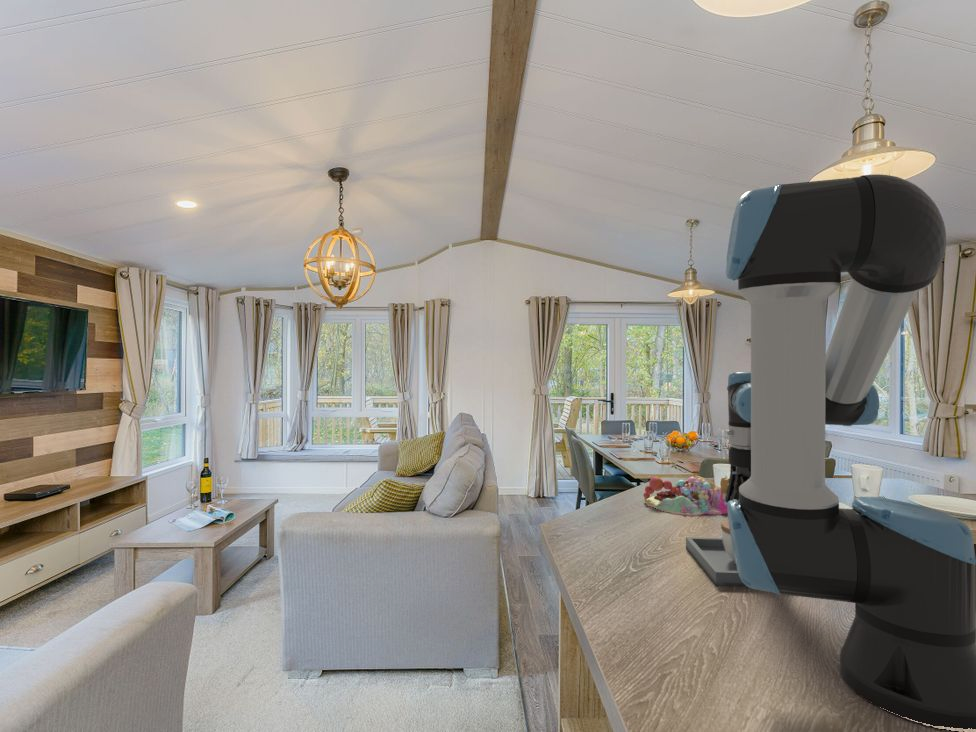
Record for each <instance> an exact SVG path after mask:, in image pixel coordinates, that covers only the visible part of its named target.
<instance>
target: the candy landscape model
mask: <svg viewBox="0 0 976 732" xmlns="http://www.w3.org/2000/svg"><path fill="white" fill-rule="evenodd" d="M729 478H730V477H729ZM729 478H728V477H721V479H720V481H719V483H720V487H719V486H717V485H716V484H715V483H714V482H712V481H710V480H707V479H706V478H704V477H702V476H701V475H692V476H690V477H688V478H687V479H686V480H684V479H679V480H677V482H675V483H674V486H673V484H672V482H671V481H670V480H667V479H666V480H663V479H662V478H660V477H659V476H653V477H651V478H650V480H649V482H648V483H649V485H646V486H645V488H644V492H643V500H644V502H645V503H646V504H647V505H646V504H645V503H644V504H645V505H646V506H648V507H649V506H651V507H654V508H653V509H655V508H656V509H659V510H658V511H660V510H661V512H663V511H664V512H663V513H668V512H669V514H672V515H679V516H686V517H687V516H688V517H698V516H699V517H700V516H702V515H714V516H715V515H718V516H721V515H728V513H727V511H728V510H727V503H726V501H725V499H726V494H727V489H728V483H729ZM663 488H664V489H665V491H664V490H662V489H663ZM658 491H659V492H658ZM655 492H656V495H653V494H654V493H655ZM651 495H653V496H651ZM651 507H650V508H651ZM656 509H655V510H656Z"/></svg>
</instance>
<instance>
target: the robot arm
mask: <svg viewBox="0 0 976 732" xmlns="http://www.w3.org/2000/svg"><path fill="white" fill-rule="evenodd" d="M736 203H737V204H736V206H735V209H734V213H733V218H732V223H731V228H730V233H729V238H728V245H727V253H726V266H725V267H726V269H725V276H726V278H727V279H728V280H731V281H736V280H737V281H738V282H737V283H738V286H737V287H738V294H739V295H740V296H741V297H743V298H744V299H745V300H746V301H747V302H748V303H749V304H750V371H749V372H748V371H747V372H746V371H745V372H744V371H736V372H733V371H732V372H731V373H730V374H729V375H728V377H727V379H728V380H727V386H726V390H727V403H728V404H727V405H728V406H727V407H728V430H726V432H725V433H726V436H728V444H730V445H731V446H729V448H728V463H729V465H730V469H729V470H730V474H729V483H728V489H727V494H726V499H725V501H726V503H727V510H728V511H727V520H728V521H729V528H730V535H731V541H732V546H733V552H734V557H735V562H736V566H737V570H738V574H739V577H740V579H741V581H742V582H743V583H744V584H745V585H746V586H748V587H747V588H750V589H752V590H756V591H762V592H768V593H774V594H775V595H776V596H781V595H786V596H792V597H793V596H794V597H802V598H811V599H820V600H828V601H829V600H830V601H836V602H837V601H838V602H845V603H846V602H847V603H853V604H854V606H855V608H854V609H855V610H854V612H855V613H854V618H853V621H852V622H851V625H850V627H849V630H848V632H847V635H846V638H845V641H844V643H843V646H842V647H841V650H840V652H839V653H840V654H839V673H840V676H841V678H842V679H843V682H845V684H847V686H848V687H849V688H850V689H851V690H853V691H854V692H855V693H856V694H857V695H859V696H860V697H861V696H862V697H861V698H863V699H864V698H865V699H864V700H866V699H867V700H868V701H867V700H866V701H867V702H869V701H870V702H869V703H871V702H872V703H874V704H876V705H877V706H876V705H875V706H876V707H878V706H879V707H881V708H884V709H886V710H888V711H890V712H893V713H895V714H898V715H900V716H902V717H907V718H909V719H912V720H915V721H918V722H922V723H926V724H930V725H933V726H944V727H950V728H951V727H953V728H963V729H968V728H970V729H971V728H972V729H976V552H975V551H976V550H975V543H974V535H973V532H972V530H971V529H970V528H969V526H968V525H967V523H964V522H963V521H962V520H960V519H958V518H956V517H955V516H953V515H950V514H947V513H945V512H942V511H941V510H940V511H939V510H936V509H933V508H929V507H926V506H923V505H919V504H915V503H914V504H913V503H910V502H906V501H901V500H897V499H896V500H895V499H890V498H885V497H877V496H857V497H856V498H854V501H853V502H852V504H851V506H852V508H840V499H839V498H840V497H838V495H837V494H835V492H833V491H832V490H831V489H830V488H829V486H827V485H826V425H830V426H845V427H851V426H866V425H868V426H869V425H871V424H873V423H874V422H876V420H877V419H878V415H879V409H880V398H879V393H878V389H876V386H874V382H875V380H876V378H877V376H878V374H879V371H880V370H881V367H882V365H883V363H884V361H885V359H886V357H887V355H888V353H889V351H890V349H891V347H892V344H893V342H894V341H895V338H896V337H897V334H898V332H899V330H900V328H901V326H902V324H903V322H904V319H905V317H906V316H907V314H908V311H909V310H910V307H911V306H912V304H913V301H914V299H915V298H916V295H917V293H918V292H919V291H922V290H924V289H926V288H927V287H928V286H930V285H931V284H932V282H933V281H935V280H934V279H935V278H936V276H937V274H938V272H939V270H940V268H941V266H942V263H943V260H944V257H945V254H946V250H947V249H946V248H947V232H946V226H945V221H944V219H943V216H942V214H941V212H940V209H939V208H938V206H937V204H936V203H935V202H934V200H933V199H932V198H931V196H929V195H928V194H927V192H925V191H924V190H923V189H921V187H919V186H918V185H917V184H915V183H912V182H911V181H908V180H906V179H903V178H902V177H898V176H894V175H888V174H875V173H874V174H864V175H860V176H855V177H844V178H836V179H824V180H823V179H822V180H814V181H805V182H804V181H803V182H795V183H782V184H781V183H777V184H776V185H775V186H774V185H773V186H768V187H763V188H756V189H752V190H749V191H746V192H745V193H744V194H742V195H741V197H739V199H738V201H737V202H736ZM842 273H847V275H848V276H849V278H850V282H849V285H848V289H847V291H846V294H845V296H844V297H845V298H844V300H843V302H842V306H841V309H840V312H839V314H838V318H837V320H836V323H835V326H834V330H833V332H832V335H831V339H830V341H829V344H828V347H827V348H826V345H827V343H826V340H827V337H826V336H827V335H826V334H827V332H826V331H827V301H828V299H829V297H831V296H832V295H833V294H834V293H835V292H837V290H838V289H840V288H841V284H842V279H841V278H842ZM826 349H827V350H826ZM872 703H871V704H872ZM874 704H873V705H874ZM879 707H878V708H879ZM881 708H880V709H881ZM890 712H889V713H890Z"/></svg>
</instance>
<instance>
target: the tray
mask: <svg viewBox="0 0 976 732" xmlns="http://www.w3.org/2000/svg"><path fill="white" fill-rule="evenodd" d="M685 549H686V550H687V551H688V553H689V554H690V555H691V557H693V559H694V560H695V561H696V563H698V565H699V566H700V567H701V568H702V570H703V572H704V573H705V574H706V575H707V576H708V577H709V579H710V580H711V581H712V583H714V585H715V586H721V587H742V586H746V585H745V584H744V583H743V582H742V581H741V579H740V577H739V574H738V570H737V566H736V564H735V563H734V561H733V560H732V559H731V558H730V557H729V555H728V554H727V552H726V551H725V548H724V545H723V541H722V537H698V536H696V537H693V536H692V537H691V536H685Z"/></svg>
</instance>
